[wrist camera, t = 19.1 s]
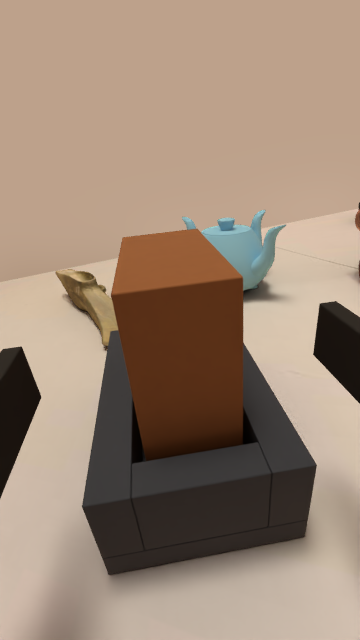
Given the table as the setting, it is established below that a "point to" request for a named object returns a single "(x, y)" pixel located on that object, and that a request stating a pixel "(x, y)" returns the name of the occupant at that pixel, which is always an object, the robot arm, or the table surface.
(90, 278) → the tool
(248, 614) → the table surface
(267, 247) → the teapot
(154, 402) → the brown rectangular block
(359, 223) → the pig shaped mug
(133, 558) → the dark grey rectangular box
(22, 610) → the table surface
